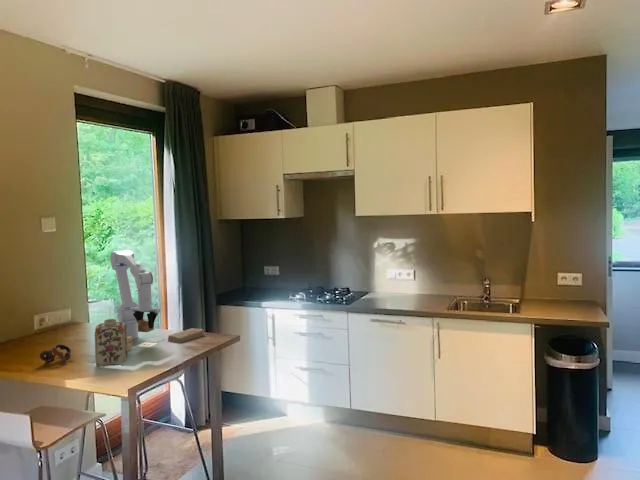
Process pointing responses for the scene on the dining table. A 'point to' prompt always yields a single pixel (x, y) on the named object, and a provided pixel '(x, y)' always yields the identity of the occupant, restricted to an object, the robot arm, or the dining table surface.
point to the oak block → (129, 342)
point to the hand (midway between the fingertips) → (146, 327)
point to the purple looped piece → (56, 353)
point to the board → (144, 345)
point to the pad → (154, 340)
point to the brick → (186, 335)
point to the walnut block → (144, 326)
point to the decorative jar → (110, 342)
